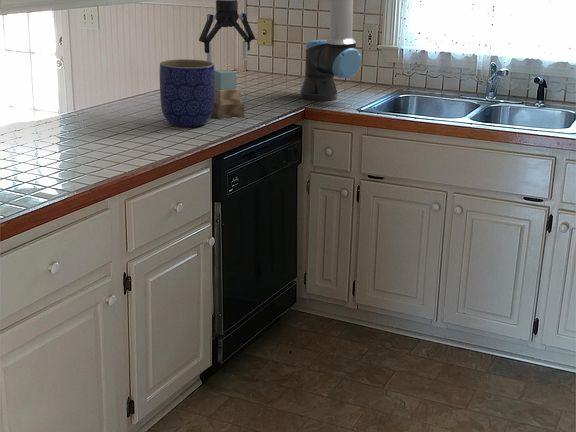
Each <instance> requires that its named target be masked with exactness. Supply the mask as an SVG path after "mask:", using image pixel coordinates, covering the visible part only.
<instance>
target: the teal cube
mask: <svg viewBox="0 0 576 432" xmlns="http://www.w3.org/2000/svg"><path fill="white" fill-rule="evenodd" d="M215 88H217V89H219V90H232V89H236V88H237V71H235V70H231V69H221V70H220V69H217V70H216V69H215Z"/></svg>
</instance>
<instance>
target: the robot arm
mask: <svg viewBox="0 0 576 432" xmlns="http://www.w3.org/2000/svg"><path fill="white" fill-rule="evenodd" d="M329 3H330V4H329V5H330V10H329V12H330V13H329V15H330V17H329V38H327V39H317V40H308V41H307V42H306V46H305V61H304V62H305V63H304V64H305V67H304V68H305V69H304V79H303V82H302V86H301V88H300V90H299V98H301V99H304V100H306V101H308V100H309V101H316V102H317V101H318V102H319V101H320V102H327V101H328V102H329V101H334V100H337V99H338V91H337V90H338V89H337V87H336V83H335V77H336V78H339V79H349V78H352V77H354V76H355V75H356V73H358V71H359V70H360V68H361V66H362V55H361V53H360V52H359V50H358V49H357V41H356V40H355V39H354V37H353V27H354V26H353V25H354V23H353V21H354V0H330V2H329ZM238 7H239V2H238V0H216V1H215V14H211V13H207V15H206V16H207V17H206V22H205V24H204V26H203V29H202V30H201V33H200V35H199V38H198V41H199V42H201V43H203V44H204V47H203V48H204V53H205V54H206V61H209V62H212V63H213V51H212V49H213V48H212V47H213V44H212V43H211V41H212V40H213V39H214V38H215V36H216V35H217V33H218V32H219V31H220V29H222V28H234V30H236V32H237V33H239V35H240V36H241V37H242V39H243V40H242V60H243V61H247V62H248V51H250V50H251V49H250V48H251V47H250V45H251V42H252V41H254V40H255V39H256V37H255V34H254V33H253V30H252V28H251V25H250V23H249V22H248V19H247V18H248V17H247V14H246V13H245V12H241V13H238V11H239V8H238ZM215 20H216V22H215ZM238 20H240V21H241V24H242V25H243V27H244V29H243V28H242V27H241V26H240V24H239V22H237V21H238ZM213 22H215V24H214V26H213V28H211V27H212V24H213ZM210 29H211V30H210ZM244 30H245V31H244Z"/></svg>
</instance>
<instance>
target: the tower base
mask: <svg viewBox="0 0 576 432" xmlns="http://www.w3.org/2000/svg"><path fill="white" fill-rule="evenodd" d="M211 117H213V118H216V119H217V120H223V119H222V118H225V119H233V118H232V117H238V118H245V104H244V103H243V102H241V101H240V104H230V105H218V104H216V103H214V109H213V113H212V116H211Z"/></svg>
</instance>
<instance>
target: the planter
mask: <svg viewBox="0 0 576 432" xmlns="http://www.w3.org/2000/svg"><path fill="white" fill-rule="evenodd" d="M215 68H216V67H215V63H214V62H213V61H212V62H209V61H207V60H202V59H169V60H164V61H161V62H160V63H159V95H160V96H159V97H160V107H161V112H162V115H163V117H164V119H165V121H166V122H168V124H170V125H172V126H174V127H180V128H198V127H201V126H204V125H206V124H208V122H209V120H211V118H212V117H213V116H212V113H213V109H214V97H215V70H216V69H215Z"/></svg>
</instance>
